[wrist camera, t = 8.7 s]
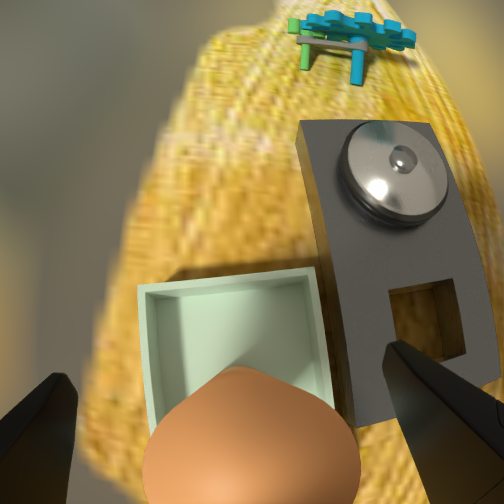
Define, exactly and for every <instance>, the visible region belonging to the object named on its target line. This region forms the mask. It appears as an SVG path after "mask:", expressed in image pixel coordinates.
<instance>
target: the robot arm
mask: <svg viewBox="0 0 504 504" xmlns="http://www.w3.org/2000/svg"><path fill="white" fill-rule="evenodd" d="M382 371H383V374H384V378H385V381H386V384H387V387H388V391H389V394H390V398H391V401H392V404H393V408H394V411H395V414H396V417H397V420H398V422H399V425H400V427H401V430H402V432H403V434H404V437H405V439H406V442H407V444H408V447H409V449H410V452H411V454H412V457H413V459H414V462H415V465H416V467H417V470H418V472H419V475H420V478H421V480H422V483H423V486H424V488H425V491H426V494H427V497H428V499H429V502H430V504H504V403H502V402H501V401H499V400H496V399H495V398H494V397H492V396H491V395H489V394H488V393H486V392H484V391H483V390H481V389H480V388H478V387H476V386H475V385H473V384H472V383H470V382H468V381H467V380H465V379H464V378H462V377H460V376H459V375H457V374H456V373H454V372H452V371H451V370H449V369H448V368H446V367H444V366H443V365H441V364H440V363H438V362H436V361H435V360H433V359H432V358H430V357H428V356H427V355H425V354H424V353H422V352H420V351H419V350H417V349H415V348H414V347H412V346H411V345H409V344H407V343H406V342H404V341H402V340H398V341H393V342H389V343H388V344H387V346H386V349H385V353H384V357H383V361H382ZM77 406H78V393H77V391H76V389H75V387H74V386H73V384H72V382H71V381H70V379H69V377H68V376H67V375H66V374H65V373H58V372H54V373H52V374H51V375H49V376H48V377H47V378H46V379H45V380H44V381H43V382H42V383H41V384H39V385H38V386H37V387H36V388H35V389H34V390H33V391H31V392H30V393H29V394H28V395H27V396H26V397H25V398H24V399H23V400H22V401H20V402H19V403H18V404H17V405H16V406H15V407H14V408H13V409H12V410H11V411H9V412H8V414H6V415H5V416H4V417H3V418H2V419H1V420H0V504H66V498H67V490H68V482H69V473H70V467H71V461H72V453H73V448H74V441H75V429H76V417H77Z"/></svg>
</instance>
